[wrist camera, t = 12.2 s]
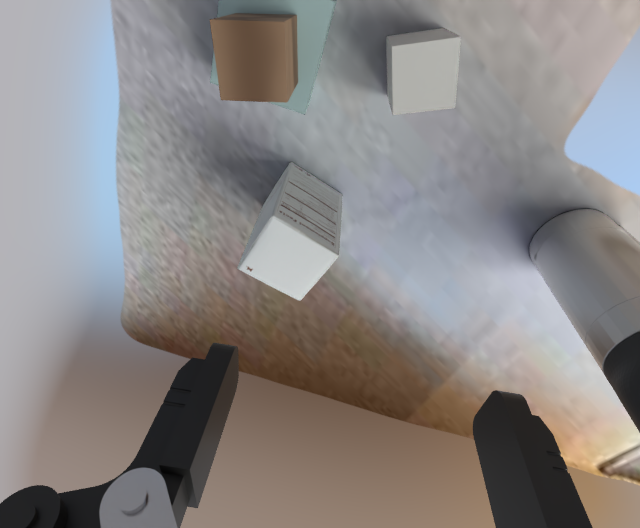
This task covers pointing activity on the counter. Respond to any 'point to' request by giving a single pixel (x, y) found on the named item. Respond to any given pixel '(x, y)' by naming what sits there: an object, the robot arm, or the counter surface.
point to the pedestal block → (312, 29)
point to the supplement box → (295, 234)
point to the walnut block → (256, 56)
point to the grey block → (422, 70)
